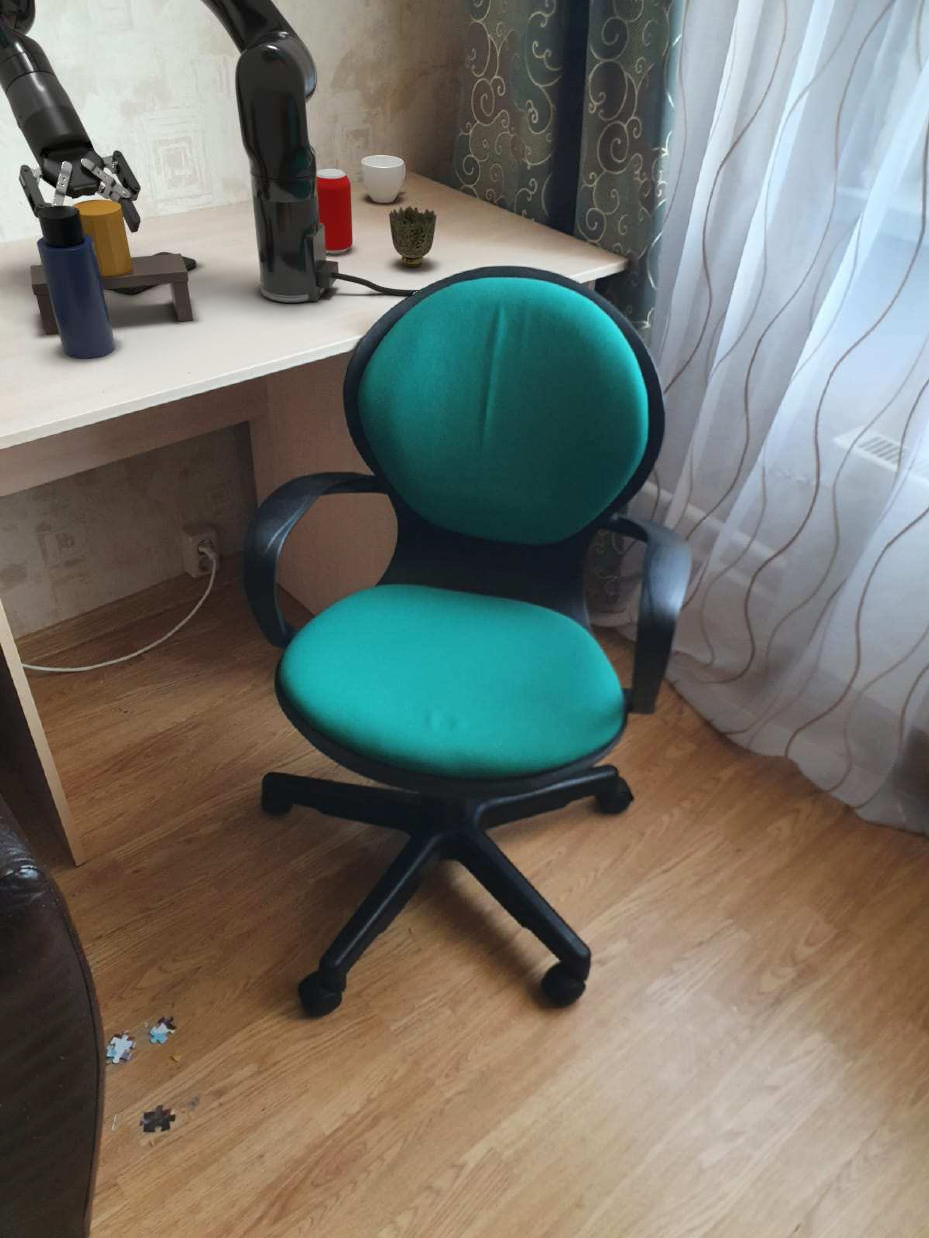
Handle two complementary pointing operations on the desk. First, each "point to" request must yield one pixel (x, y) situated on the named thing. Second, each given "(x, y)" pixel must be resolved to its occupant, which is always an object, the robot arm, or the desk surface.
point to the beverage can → (335, 209)
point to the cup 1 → (383, 177)
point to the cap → (106, 235)
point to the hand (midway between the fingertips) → (105, 235)
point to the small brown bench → (127, 284)
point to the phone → (188, 263)
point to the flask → (74, 284)
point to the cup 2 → (412, 234)
